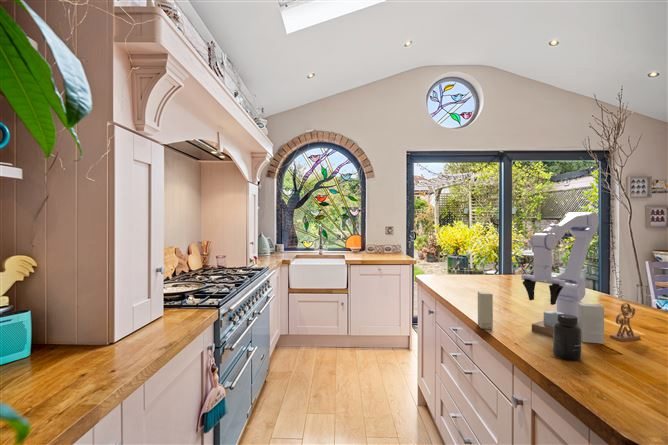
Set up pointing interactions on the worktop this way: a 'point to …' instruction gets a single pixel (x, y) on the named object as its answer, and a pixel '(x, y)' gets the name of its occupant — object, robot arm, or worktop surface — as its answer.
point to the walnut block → (542, 328)
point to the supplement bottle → (567, 338)
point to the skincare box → (591, 322)
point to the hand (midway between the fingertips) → (542, 302)
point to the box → (485, 310)
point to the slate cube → (551, 318)
